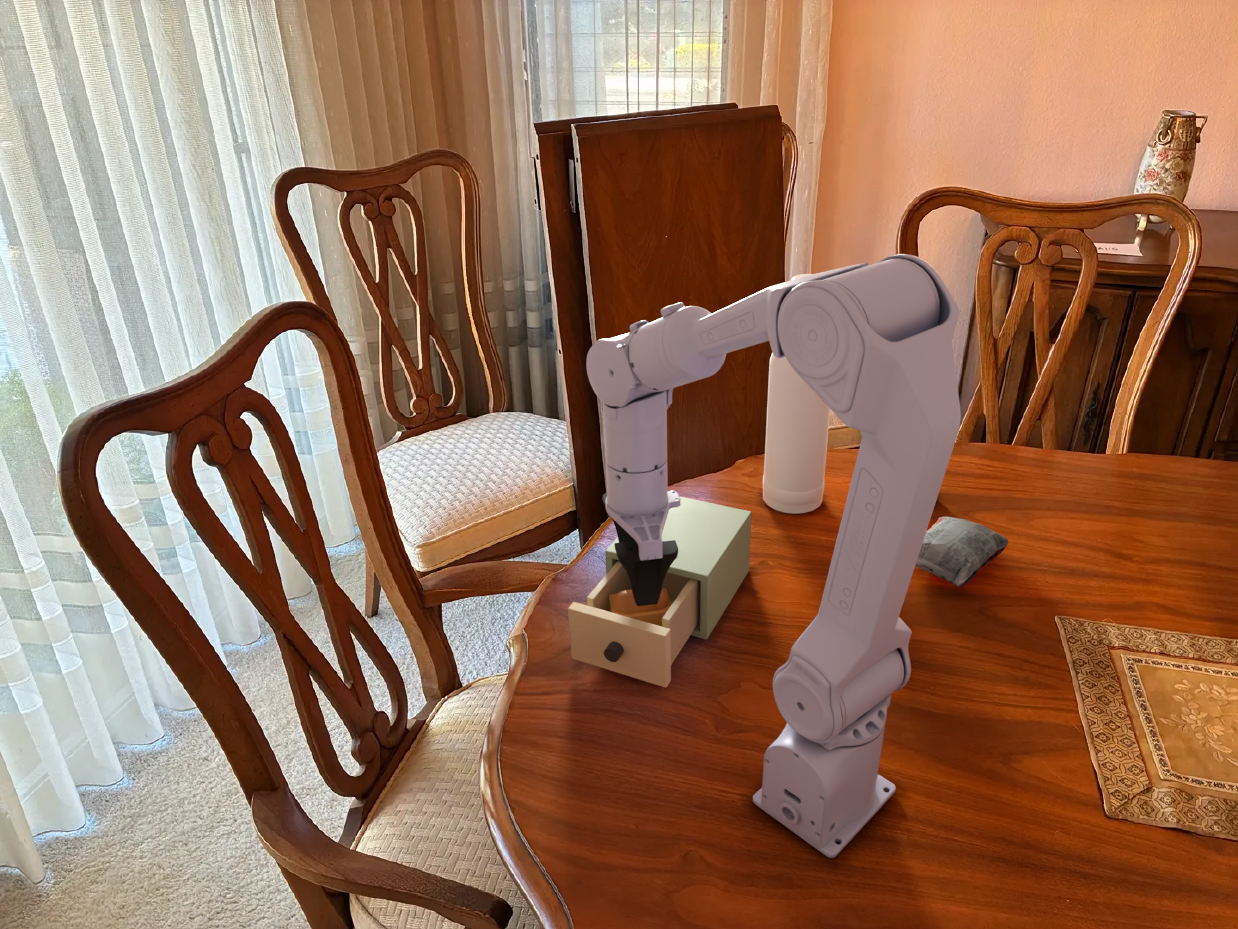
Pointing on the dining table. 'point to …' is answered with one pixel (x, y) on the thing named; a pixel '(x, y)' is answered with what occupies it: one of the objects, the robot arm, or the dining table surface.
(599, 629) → the wooden pull-out drawer
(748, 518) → the drawer cabinet
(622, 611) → the light brown block
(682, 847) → the dining table surface
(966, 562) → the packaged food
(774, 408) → the bottle
